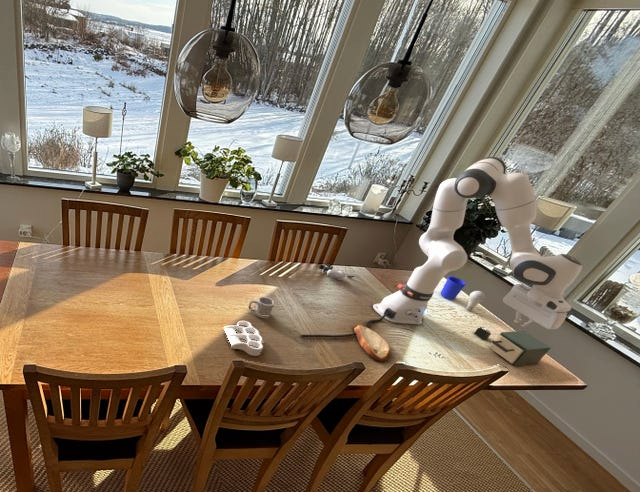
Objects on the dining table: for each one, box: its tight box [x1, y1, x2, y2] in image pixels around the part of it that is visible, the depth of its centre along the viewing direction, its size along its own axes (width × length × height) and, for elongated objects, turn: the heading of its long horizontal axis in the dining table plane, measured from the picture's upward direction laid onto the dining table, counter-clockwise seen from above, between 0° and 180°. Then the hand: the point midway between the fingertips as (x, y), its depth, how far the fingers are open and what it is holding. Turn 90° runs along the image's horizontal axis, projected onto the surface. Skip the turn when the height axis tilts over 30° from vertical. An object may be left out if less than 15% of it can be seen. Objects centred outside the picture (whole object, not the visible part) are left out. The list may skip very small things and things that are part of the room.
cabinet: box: [492, 330, 551, 366], centre depth 169 cm, size 14×12×9 cm
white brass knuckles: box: [222, 320, 266, 357], centre depth 155 cm, size 3×18×15 cm
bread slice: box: [354, 324, 391, 362], centre depth 163 cm, size 18×18×4 cm
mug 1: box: [247, 296, 275, 319], centre depth 172 cm, size 10×7×7 cm
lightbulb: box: [465, 290, 486, 311], centre depth 198 cm, size 6×6×11 cm
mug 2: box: [440, 275, 467, 300], centre depth 209 cm, size 8×12×10 cm
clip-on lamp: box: [318, 263, 356, 281], centre depth 212 cm, size 12×6×18 cm
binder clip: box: [473, 326, 492, 340], centre depth 180 cm, size 3×4×4 cm
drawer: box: [488, 334, 524, 364], centre depth 168 cm, size 17×10×7 cm, turn 104°
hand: (519, 324), depth 159 cm, fingers closed
